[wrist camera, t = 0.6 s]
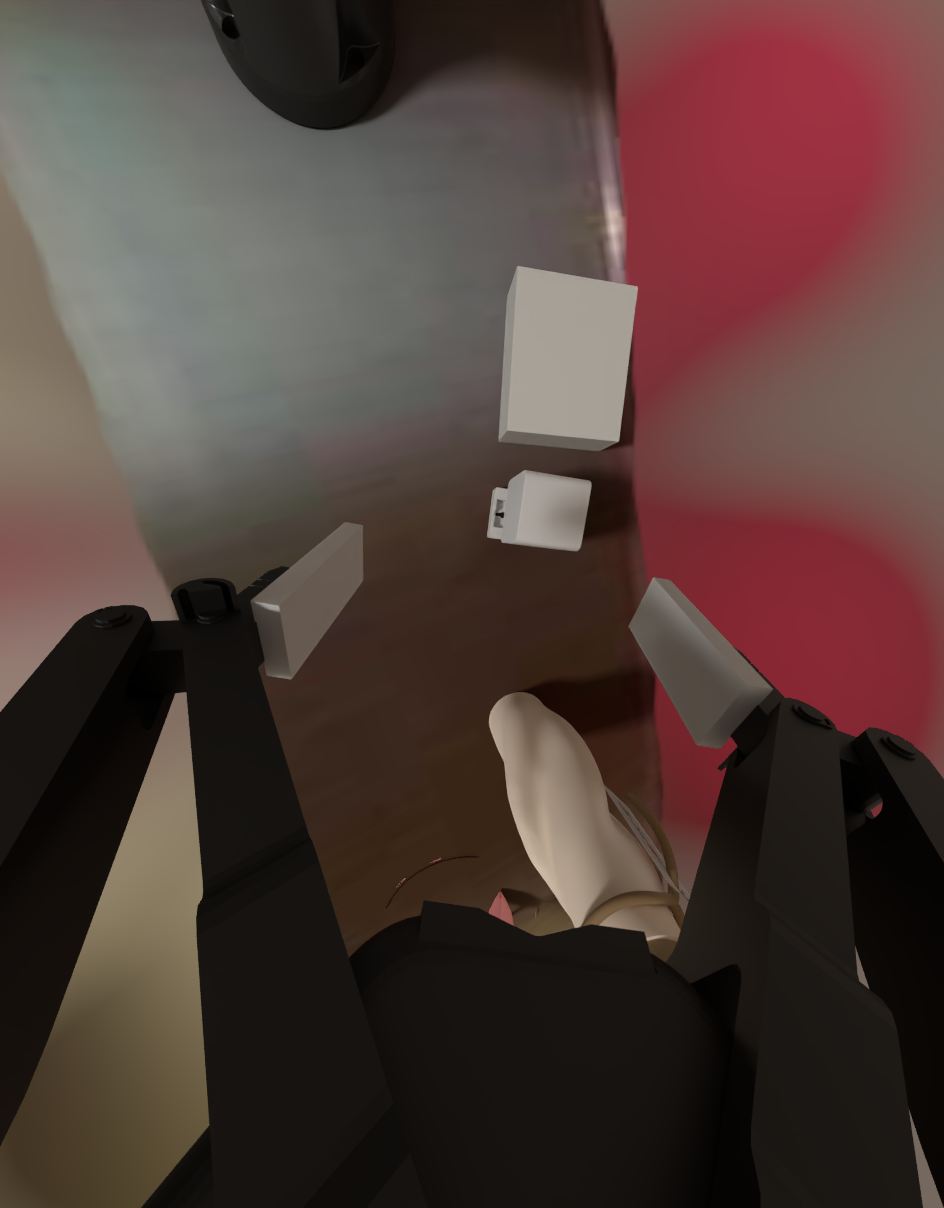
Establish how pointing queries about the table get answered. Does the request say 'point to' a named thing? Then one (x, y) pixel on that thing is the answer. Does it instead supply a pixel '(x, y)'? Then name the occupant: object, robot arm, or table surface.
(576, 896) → the water bottle
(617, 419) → the plinth
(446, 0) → the table surface
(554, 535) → the security camera
